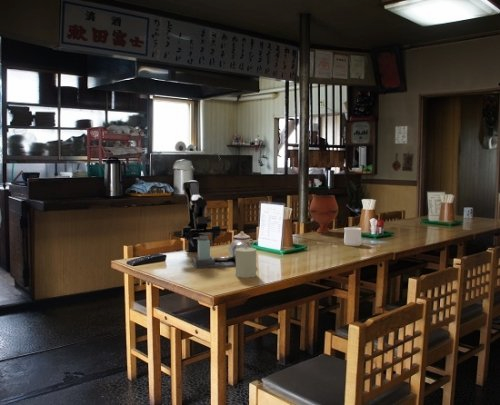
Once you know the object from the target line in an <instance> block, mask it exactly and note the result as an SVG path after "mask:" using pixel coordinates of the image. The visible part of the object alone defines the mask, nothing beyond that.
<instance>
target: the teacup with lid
mask: <svg viewBox="0 0 500 405" xmlns="http://www.w3.org/2000/svg"><path fill="white" fill-rule="evenodd" d="M235 240H240V241H242V242H244V243H245V244H247V245H248V246H249V247H251V248H253V246H254V239H252V238H251V236H250V235H248V234H246V233H245V232H244V231H240V232H239V233H237V234H236V235H234V236H233V241H235ZM250 243H251V244H250Z"/></svg>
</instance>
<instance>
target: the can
mask: <svg viewBox="0 0 500 405" xmlns="http://www.w3.org/2000/svg"><path fill="white" fill-rule="evenodd" d="M234 275H235V277H237V278H240V277H241V278H243V279H247V278H248V279H249V278H250V277H251V278H255V277H256V276H257V248H254V247H251V248H248V247H244V248H237V249H236V266H235V274H234Z"/></svg>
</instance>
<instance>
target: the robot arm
mask: <svg viewBox="0 0 500 405" xmlns="http://www.w3.org/2000/svg"><path fill="white" fill-rule="evenodd" d="M199 184H200V182H198V181H197V180H188V181H184V182H183V183H182V191H183V194H184V195H185V198H187V210H188V224H187V226H183V227H182V230H181V238H182V239H183V238H184V239H185V241H187V249H186V250H185V252H190V253H191V252H193V253H198V239H200V235H205V234H211V237H210V238H211V246H212V247H213V246H214V244H215V240H216V239H217V238H218V237H220V235H221V232H222V228H221V226H220V225H212V227H211V228H208V226H209V225H208V224H211V222H212V216H211V215H205V214H206V211H207V207H208V202H207V200H206V199H204V198H203V196H201V195H200V191H199V189H200V185H199Z"/></svg>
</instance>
